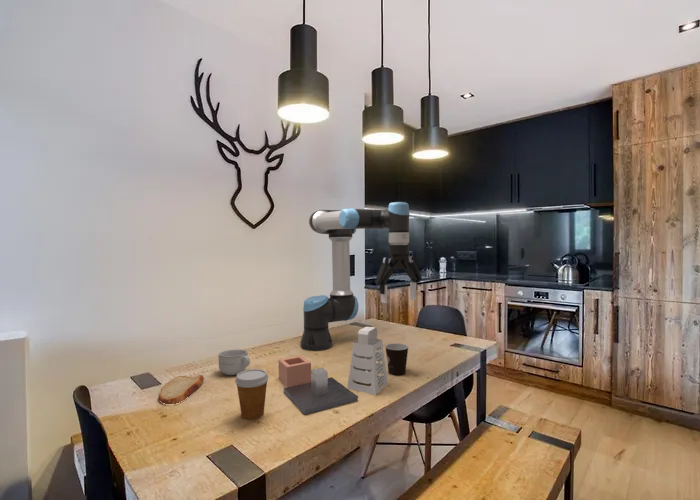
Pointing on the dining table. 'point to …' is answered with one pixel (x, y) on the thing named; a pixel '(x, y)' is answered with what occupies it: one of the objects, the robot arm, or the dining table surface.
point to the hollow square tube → (294, 371)
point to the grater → (367, 362)
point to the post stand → (319, 393)
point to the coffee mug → (396, 358)
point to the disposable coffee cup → (252, 392)
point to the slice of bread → (179, 389)
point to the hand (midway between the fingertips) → (399, 301)
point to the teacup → (233, 361)
